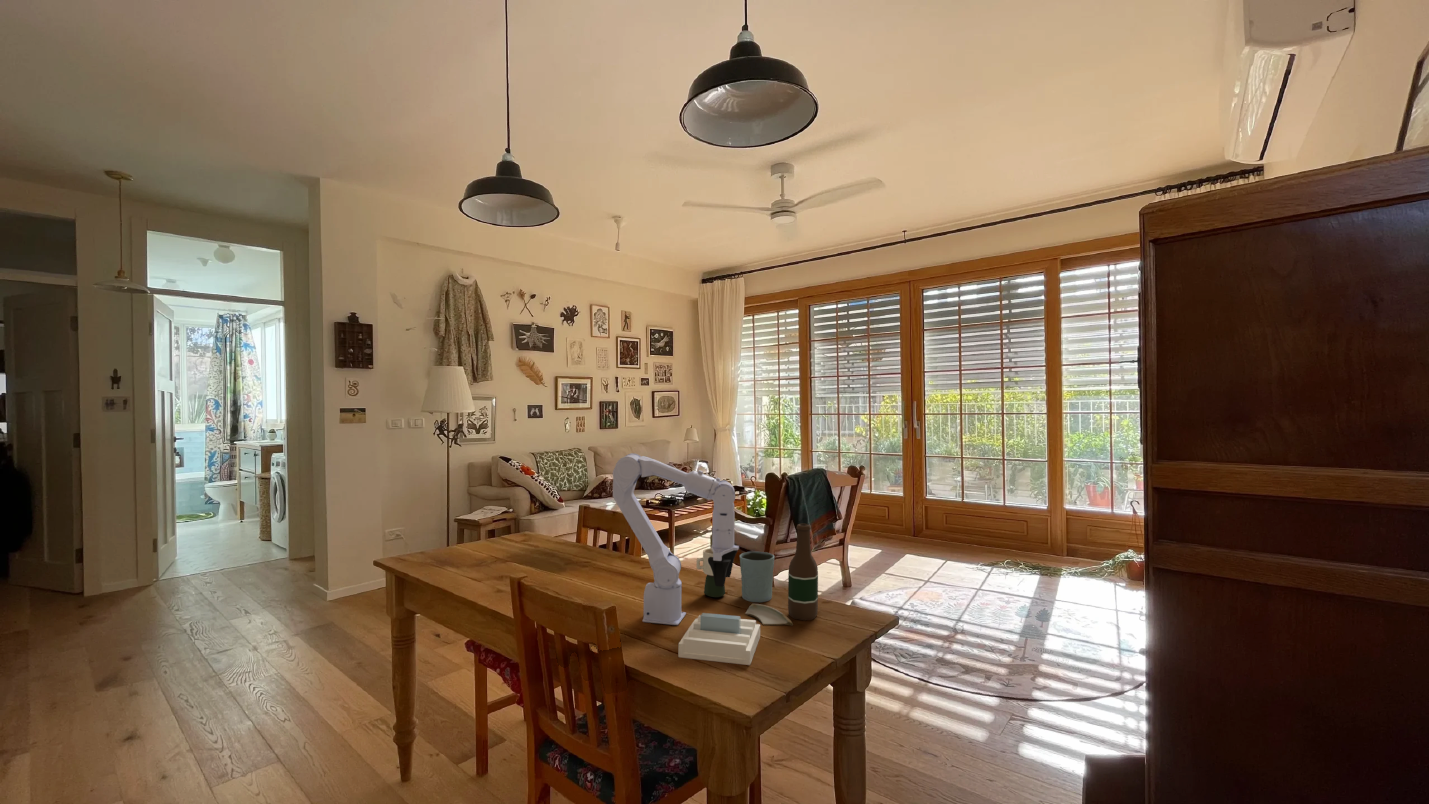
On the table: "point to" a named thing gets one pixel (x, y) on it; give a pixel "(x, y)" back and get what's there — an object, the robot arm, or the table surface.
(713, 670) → the table surface
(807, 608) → the beer bottle
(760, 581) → the light blue cup
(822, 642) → the table surface
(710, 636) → the rack
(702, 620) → the tile
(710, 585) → the cream and green mug
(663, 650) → the table surface
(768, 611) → the ceramic fragment
